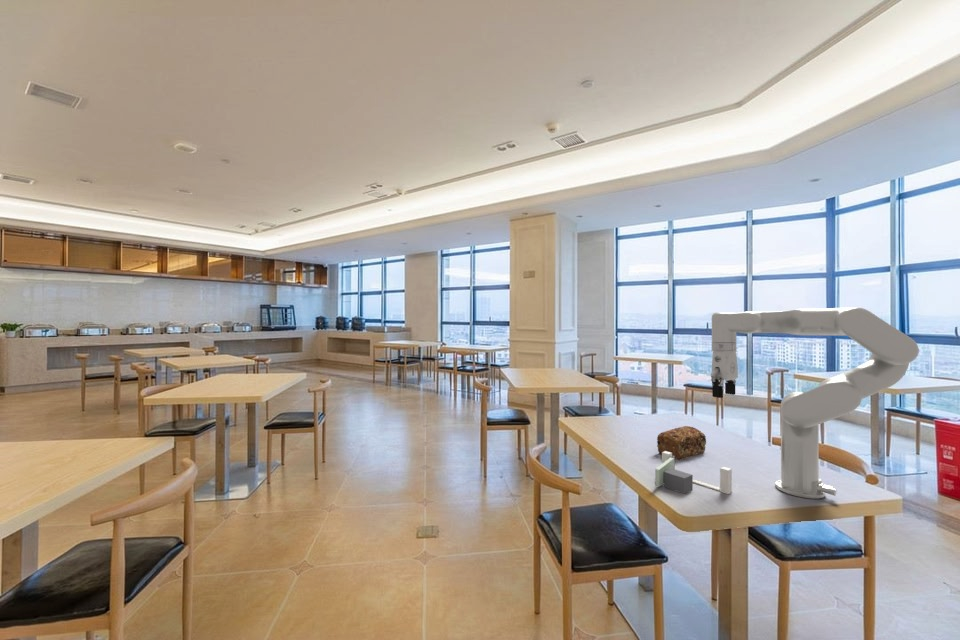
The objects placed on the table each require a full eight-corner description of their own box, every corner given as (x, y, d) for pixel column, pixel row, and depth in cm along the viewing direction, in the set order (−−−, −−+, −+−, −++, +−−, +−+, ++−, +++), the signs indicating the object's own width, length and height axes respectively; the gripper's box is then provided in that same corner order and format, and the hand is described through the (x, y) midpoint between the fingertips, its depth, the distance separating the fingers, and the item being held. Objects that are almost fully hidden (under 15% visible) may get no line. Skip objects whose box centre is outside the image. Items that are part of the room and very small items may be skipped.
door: (659, 488, 132) (659, 468, 132) (655, 487, 133) (655, 467, 133) (675, 474, 144) (675, 456, 144) (671, 473, 145) (671, 455, 145)
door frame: (731, 492, 130) (731, 468, 130) (728, 494, 128) (728, 470, 128) (665, 471, 147) (665, 451, 147) (662, 473, 146) (662, 452, 146)
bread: (683, 446, 177) (683, 423, 177) (707, 453, 168) (707, 429, 168) (655, 453, 168) (655, 429, 168) (679, 461, 159) (679, 435, 159)
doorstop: (692, 490, 132) (692, 474, 132) (684, 494, 129) (684, 478, 129) (671, 483, 137) (671, 468, 137) (663, 486, 135) (663, 471, 135)
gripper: (724, 349, 135) (724, 400, 135) (746, 346, 146) (746, 394, 145) (701, 347, 141) (701, 396, 141) (723, 345, 152) (723, 391, 152)
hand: (724, 395), depth 143 cm, fingers open, 9 cm apart
